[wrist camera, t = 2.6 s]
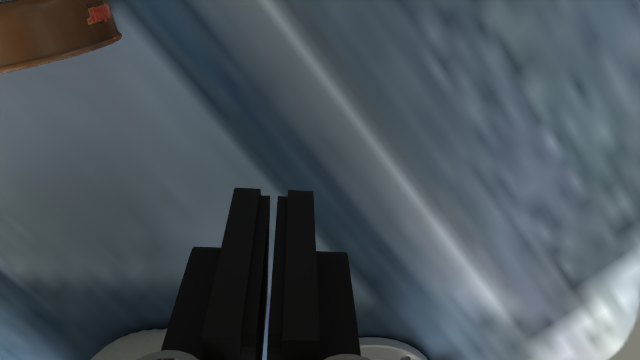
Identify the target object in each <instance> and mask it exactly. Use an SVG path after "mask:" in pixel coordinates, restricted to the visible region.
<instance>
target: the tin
mask: <svg viewBox="0 0 640 360" xmlns="http://www.w3.org/2000/svg"><path fill="white" fill-rule="evenodd" d="M121 37H122V35H121V33H120V32H118V30H117V27H116V24H115V21H114V18H113V16H112V13H111V10H110V7H109V4H108V1H107V0H13V1H7V2H1V3H0V74H2V73H7V72H11V71H16V70H20V69H25V68H30V67H34V66H38V65H42V64H45V63H50V62H54V61H58V60H63V59H66V58H69V57H73V56H77V55H80V54H83V53H87V52H90V51H93V50H96V49H98V48H101V47H104V46H107V45H109V44H112V43H114V42H116V41H118V40H120V39H121Z"/></svg>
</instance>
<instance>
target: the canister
mask: <svg viewBox="0 0 640 360" xmlns="http://www.w3.org/2000/svg"><path fill="white" fill-rule="evenodd" d="M166 331H167V329H163V330H158V329H153V330H148V331H147V330H142V331H140V332H138V333H130V334H128V335H127V336H124V337H120V338H118V339H116V340H115V341H114V342H112V343H110V344H108V345H107V346H105V347H104V348H103V349H102V350H101V351H100V352H98V353H97V354H96V355H95V356H94V357H93V358H92V359H91V360H137V359H139V358H141V357H143V356H145V355H147V354H150V353H154V352H158V351H161V348H162V344H163V341H164V338H165V335H166Z"/></svg>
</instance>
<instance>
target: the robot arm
mask: <svg viewBox="0 0 640 360" xmlns="http://www.w3.org/2000/svg"><path fill="white" fill-rule="evenodd" d="M269 219H270V196H261V190H260V189H253V188H235V189H234V193H233V197H232V202H231V206H230V211H229V215H228V220H227V224H226V229H225V233H224V237H223V242H222V246H221V248H213V247H194V248H193V249H192V251H191V253H190V256H189V260H188V263H187V266H186V269H185V273H184V276H183V279H182V282H181V286H180V289H179V292H178V296H177V299H176V302H175V305H174V309H173V312H172V315H171V318H170V322H169V325H168V328H167V331H166V335H165V338H164V341H163V344H162V348H161V351H158V352H154V353H150V354H147V355H145V356H143V357H141V358H139V359H137V360H262V355H263V343H264V330H265V318H266V306H267V289H268V254H269ZM267 360H428V359H427V358H426V357H425V356H424V355H423V354H422V353H421V352H419V351H418V350H417V349H415V348H413V347H412V346H410V345H408V344H405V343H402V342H399V341H396V340H392V339H386V338H380V337H363V338H359V336H358V329H357V321H356V314H355V306H354V299H353V291H352V284H351V276H350V269H349V261H348V256H347V253H346V252H321V251H316V242H315V220H314V198H313V191H296V190H288V197H283V196H278V203H277V216H276V230H275V244H274V258H273V271H272V285H271V299H270V312H269V327H268V345H267Z"/></svg>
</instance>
